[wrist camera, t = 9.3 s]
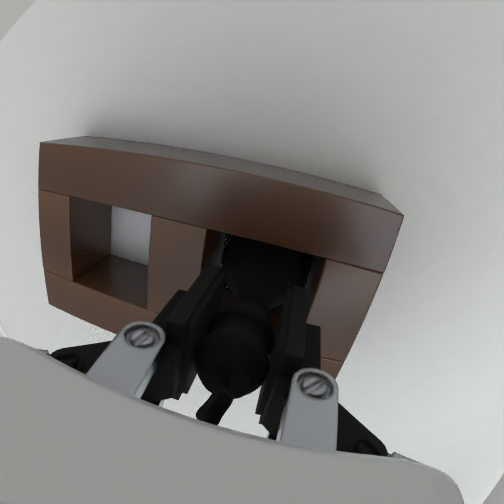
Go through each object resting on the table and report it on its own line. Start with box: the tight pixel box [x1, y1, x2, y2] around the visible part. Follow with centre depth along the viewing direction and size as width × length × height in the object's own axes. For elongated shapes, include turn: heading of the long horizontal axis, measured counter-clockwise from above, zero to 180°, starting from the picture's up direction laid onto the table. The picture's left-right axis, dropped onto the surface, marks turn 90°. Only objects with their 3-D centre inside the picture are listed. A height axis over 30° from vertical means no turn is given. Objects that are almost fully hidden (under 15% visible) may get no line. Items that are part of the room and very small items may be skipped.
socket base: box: [38, 136, 404, 379], centre depth 15 cm, size 10×17×4 cm, turn 79°
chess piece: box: [194, 235, 309, 425], centre depth 11 cm, size 4×4×10 cm
